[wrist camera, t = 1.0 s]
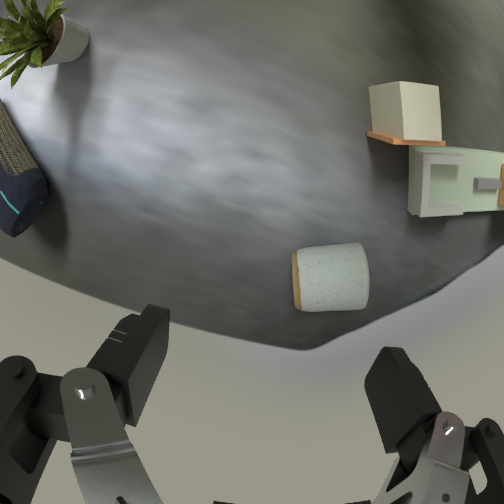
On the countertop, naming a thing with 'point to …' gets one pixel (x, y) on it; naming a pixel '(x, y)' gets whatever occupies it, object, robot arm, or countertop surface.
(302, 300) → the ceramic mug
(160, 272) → the countertop surface
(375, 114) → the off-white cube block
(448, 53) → the countertop surface
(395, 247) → the countertop surface
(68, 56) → the house plant
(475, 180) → the rail
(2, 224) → the portable speaker
